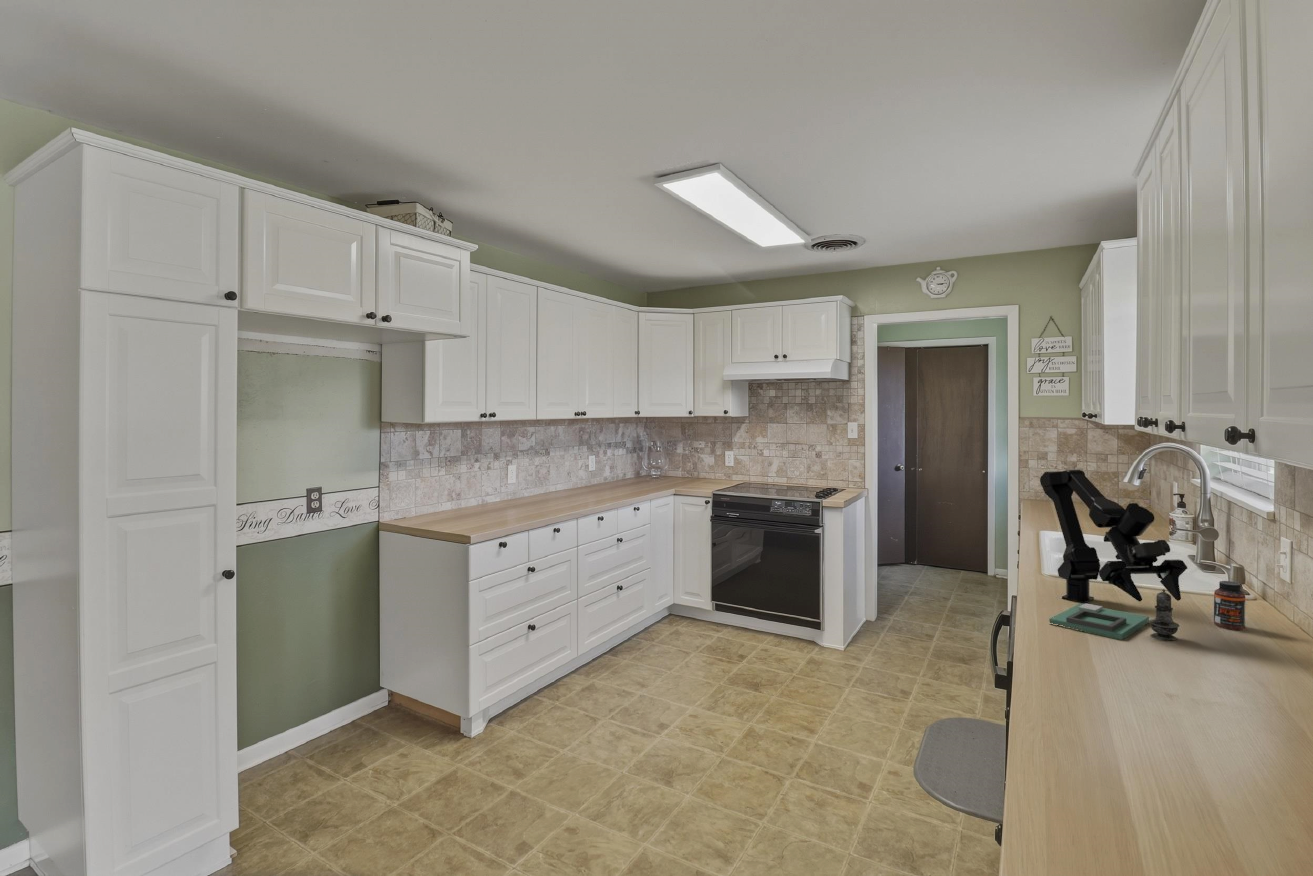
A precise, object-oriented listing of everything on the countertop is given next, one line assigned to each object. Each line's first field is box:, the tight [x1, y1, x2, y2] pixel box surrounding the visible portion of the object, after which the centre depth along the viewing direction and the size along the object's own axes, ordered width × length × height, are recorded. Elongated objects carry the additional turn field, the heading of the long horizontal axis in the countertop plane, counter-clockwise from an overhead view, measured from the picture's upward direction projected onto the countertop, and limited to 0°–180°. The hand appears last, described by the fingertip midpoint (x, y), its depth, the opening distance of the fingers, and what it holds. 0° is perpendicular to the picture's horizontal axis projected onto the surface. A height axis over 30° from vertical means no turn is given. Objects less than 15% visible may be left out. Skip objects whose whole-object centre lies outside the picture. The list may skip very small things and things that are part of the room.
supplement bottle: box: [1213, 580, 1246, 631], centre depth 162 cm, size 6×6×11 cm
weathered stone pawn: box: [1148, 588, 1180, 642], centre depth 156 cm, size 6×6×12 cm
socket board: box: [1048, 602, 1150, 641], centre depth 168 cm, size 20×16×3 cm
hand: (1160, 600), depth 157 cm, fingers open, 9 cm apart
